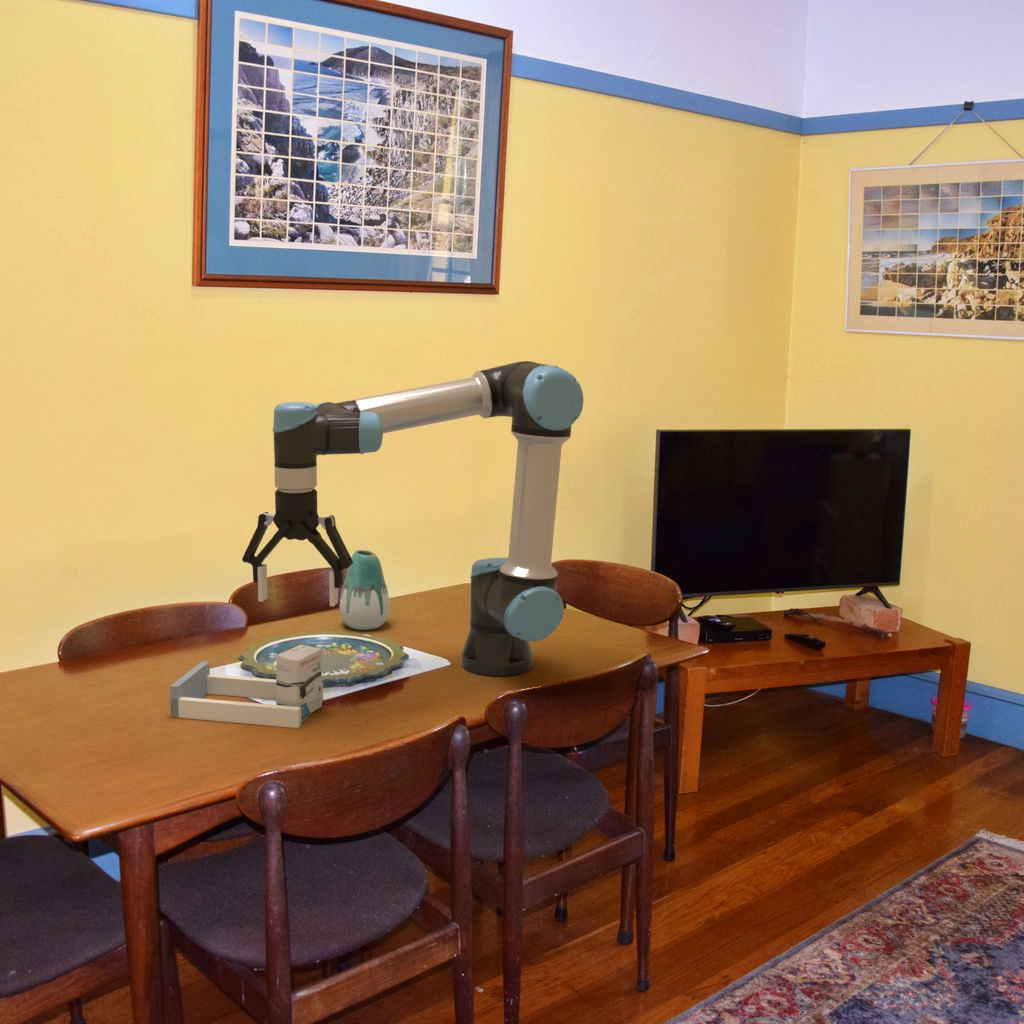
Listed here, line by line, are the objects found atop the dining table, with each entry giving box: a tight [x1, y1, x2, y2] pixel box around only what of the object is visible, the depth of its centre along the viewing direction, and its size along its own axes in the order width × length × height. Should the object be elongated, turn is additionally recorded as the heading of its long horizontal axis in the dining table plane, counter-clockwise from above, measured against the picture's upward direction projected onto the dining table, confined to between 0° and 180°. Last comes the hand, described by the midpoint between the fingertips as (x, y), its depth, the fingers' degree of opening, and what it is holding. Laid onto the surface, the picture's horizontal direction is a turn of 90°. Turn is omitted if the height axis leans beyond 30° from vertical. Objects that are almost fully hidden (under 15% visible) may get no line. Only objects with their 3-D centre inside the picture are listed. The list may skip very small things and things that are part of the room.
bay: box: [169, 660, 324, 729], centre depth 227 cm, size 24×14×6 cm, turn 81°
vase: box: [338, 549, 391, 631], centre depth 279 cm, size 12×12×18 cm
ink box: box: [275, 644, 323, 718], centre depth 225 cm, size 8×5×12 cm, turn 156°
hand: (298, 602), depth 222 cm, fingers open, 13 cm apart
